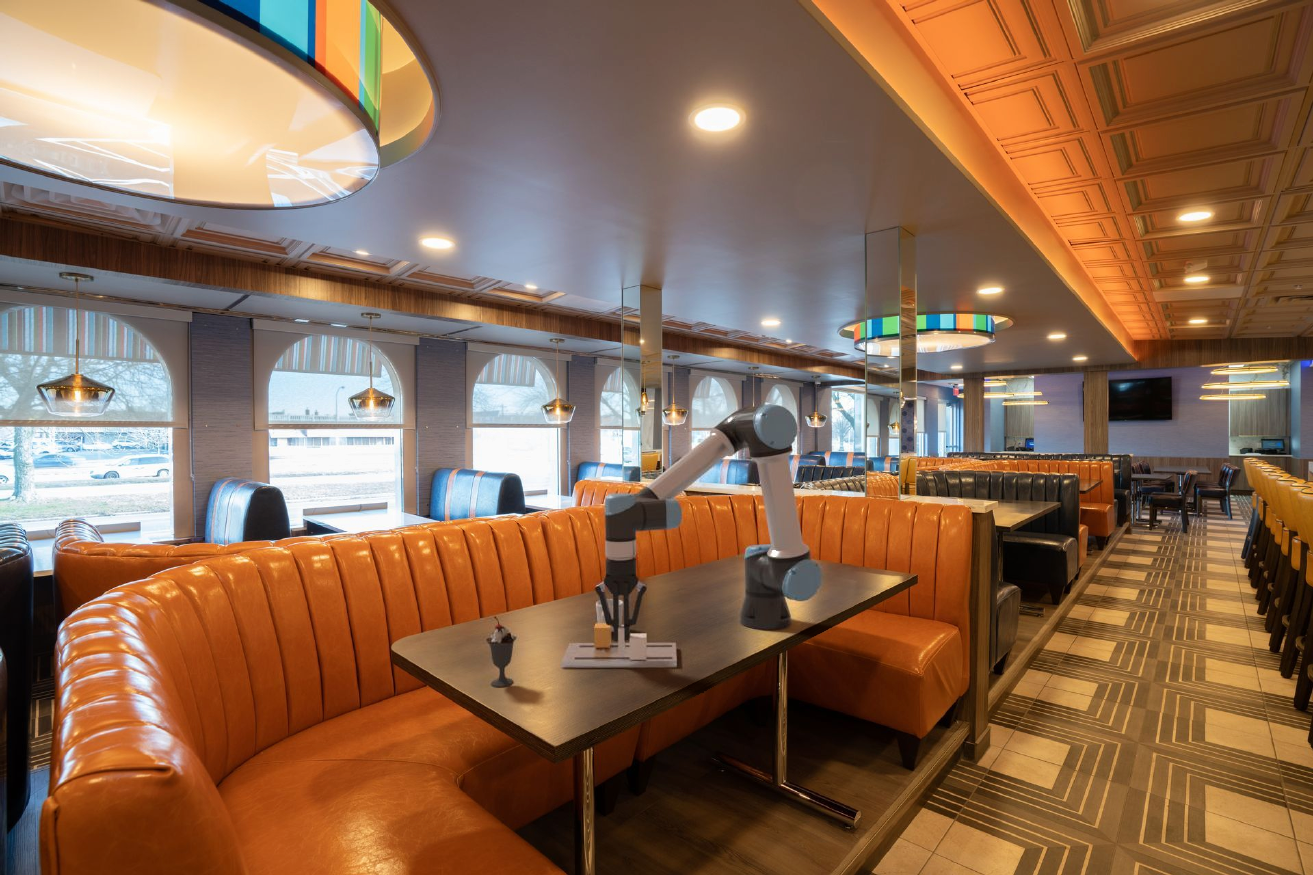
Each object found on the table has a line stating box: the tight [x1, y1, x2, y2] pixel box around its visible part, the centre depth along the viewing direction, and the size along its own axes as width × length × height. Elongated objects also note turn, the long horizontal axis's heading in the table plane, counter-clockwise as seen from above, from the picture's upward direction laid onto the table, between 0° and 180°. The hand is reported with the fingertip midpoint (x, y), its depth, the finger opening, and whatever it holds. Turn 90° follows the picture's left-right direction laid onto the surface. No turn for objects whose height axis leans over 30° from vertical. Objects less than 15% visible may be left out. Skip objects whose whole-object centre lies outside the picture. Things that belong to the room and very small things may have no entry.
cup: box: [595, 598, 624, 633], centre depth 175 cm, size 11×8×8 cm
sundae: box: [485, 615, 517, 688], centre depth 139 cm, size 7×7×15 cm
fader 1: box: [593, 622, 612, 647], centre depth 158 cm, size 4×4×5 cm
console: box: [560, 642, 678, 669], centre depth 154 cm, size 28×13×2 cm, turn 89°
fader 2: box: [629, 632, 648, 660], centre depth 150 cm, size 4×4×5 cm
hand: (621, 652), depth 150 cm, fingers closed
